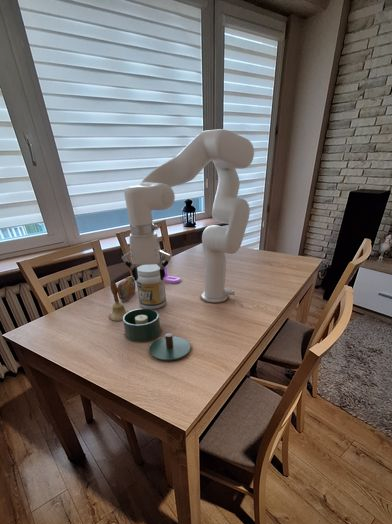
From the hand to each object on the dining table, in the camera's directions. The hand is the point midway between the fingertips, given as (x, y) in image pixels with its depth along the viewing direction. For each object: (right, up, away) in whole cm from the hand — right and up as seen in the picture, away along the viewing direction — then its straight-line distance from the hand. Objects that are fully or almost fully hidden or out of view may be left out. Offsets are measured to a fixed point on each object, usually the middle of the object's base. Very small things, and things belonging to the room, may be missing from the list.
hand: (149, 279), depth 101 cm
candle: (-3, -19, +4) cm, 20 cm away
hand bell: (-15, -12, +16) cm, 25 cm away
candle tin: (-3, -19, +5) cm, 20 cm away
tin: (-16, 0, +33) cm, 36 cm away
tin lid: (+8, -26, -5) cm, 27 cm away
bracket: (+2, +12, +50) cm, 51 cm away
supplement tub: (-3, -5, +25) cm, 26 cm away
